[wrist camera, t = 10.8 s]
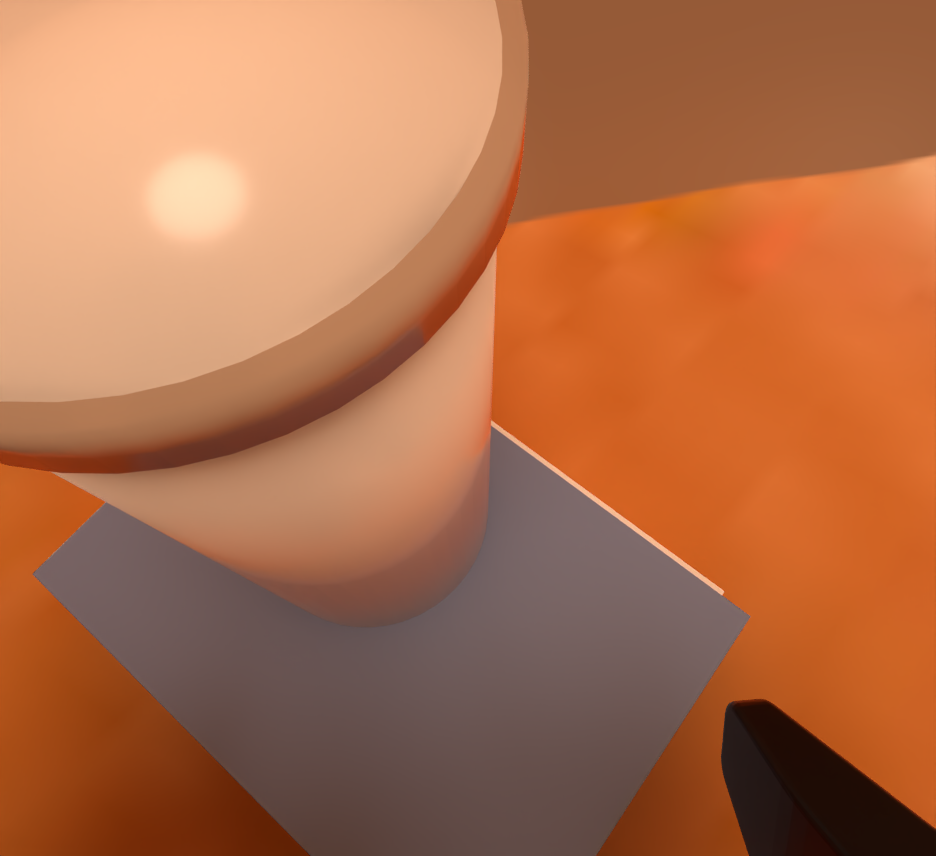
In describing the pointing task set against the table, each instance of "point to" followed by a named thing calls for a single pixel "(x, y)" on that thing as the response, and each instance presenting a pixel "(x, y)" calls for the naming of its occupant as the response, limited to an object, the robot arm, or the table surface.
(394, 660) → the gray book
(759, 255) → the table surface
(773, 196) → the table surface
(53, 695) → the table surface
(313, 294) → the pen cup
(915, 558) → the table surface
